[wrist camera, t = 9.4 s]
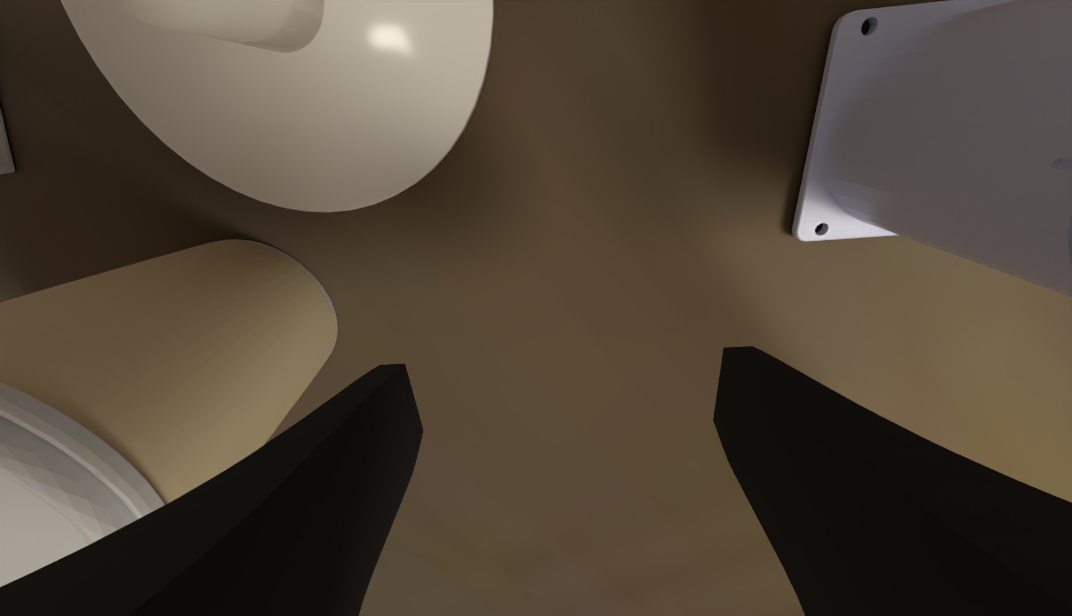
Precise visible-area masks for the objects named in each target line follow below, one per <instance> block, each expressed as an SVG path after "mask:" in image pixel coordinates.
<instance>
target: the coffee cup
mask: <svg viewBox="0 0 1072 616" xmlns="http://www.w3.org/2000/svg"><path fill="white" fill-rule="evenodd" d="M337 332H338V325H337V317H336V313H335V309H334V307H333V304H332V302H331V299H330V297H329V296H328V294H327V292H326V291H325V289H324V288H323V286H322V285H321V283H320V282H319V281H318V280H317V278H316V277H315V276H314V275H313V274H312V273H311V272H310V271H309V270H308V269H307V268H305V267H304V266H303V265H302V264H301V263H300V262H298V261H297V260H295V259H294V258H292V257H291V256H289V255H287V254H286V253H284V252H282V251H280V250H278V249H276V248H274V247H271V246H269V245H266V244H263V243H260V242H255V241H250V240H238V239H229V240H220V241H215V242H211V243H207V244H203V245H199V246H195V247H192V248H188V249H184V250H181V251H177V252H174V253H170V254H167V255H163V256H160V257H156V258H153V259H149V260H146V261H142V262H138V263H135V264H131V265H128V266H124V267H121V268H117V269H114V270H110V271H107V272H103V273H100V274H96V275H93V276H89V277H86V278H82V279H79V280H75V281H72V282H68V283H65V284H61V285H58V286H55V287H51V288H48V289H44V290H41V291H37V292H34V293H30V294H27V295H24V296H20V297H17V298H13V299H10V300H6V301H3V302H0V587H1V586H4V585H6V584H8V583H10V582H12V581H14V580H17V579H19V578H21V577H23V576H25V575H28V574H30V573H32V572H34V571H36V570H38V569H40V568H42V567H44V566H46V565H48V564H51V563H53V562H55V561H57V560H59V559H61V558H63V557H65V556H67V555H69V554H71V553H73V552H76V551H78V550H80V549H82V548H84V547H86V546H88V545H90V544H92V543H93V542H95V541H97V540H99V539H101V538H103V537H105V536H107V535H109V534H111V533H113V532H114V531H116V530H118V529H120V528H122V527H124V526H126V525H128V524H130V523H132V522H134V521H135V520H137V519H139V518H141V517H143V516H145V515H147V514H149V513H151V512H153V511H155V510H156V509H158V508H160V507H162V506H164V505H166V504H168V503H170V502H171V501H173V500H175V499H177V498H179V497H180V496H182V495H184V494H186V493H187V492H189V491H191V490H192V489H194V488H196V487H198V486H199V485H201V484H203V483H204V482H206V481H208V480H210V479H211V478H213V477H215V476H216V475H218V474H220V473H221V472H223V471H225V470H226V469H228V468H229V467H231V466H233V465H234V464H236V463H237V462H239V461H241V460H242V459H244V458H245V457H247V456H249V455H250V454H251V453H253V452H254V451H256V450H257V449H259V448H260V447H262V446H263V445H264V444H265V443H266V442H267V440H268V439H269V438H270V436H271V435H272V434H273V432H274V431H275V430H276V428H277V427H278V426H279V424H280V423H281V421H282V420H283V419H284V417H285V416H286V415H287V413H288V412H289V411H290V409H291V408H292V407H293V405H294V404H295V403H296V401H297V400H298V399H299V397H300V396H301V395H302V393H303V392H304V391H305V389H306V388H307V387H308V385H309V384H310V383H311V381H312V380H313V379H314V377H315V376H316V375H317V373H318V372H319V370H320V369H321V367H322V366H323V364H324V363H325V362H326V360H327V359H328V357H329V356H330V354H331V353H332V350H333V348H334V346H335V342H336V339H337Z"/></svg>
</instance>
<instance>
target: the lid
mask: <svg viewBox="0 0 1072 616" xmlns="http://www.w3.org/2000/svg"><path fill="white" fill-rule="evenodd" d="M61 3H62V5H63V7H64V8H65V10H66V12H67V14H68V16H69V18H70V20H71V22H72V24H73V26H74V28H75V30H76V32H77V34H78V36H79V38H80V39H81V41H82V42H83V44H84V46H85V47H86V49H87V50H88V52H89V54H90V55H91V57H92V59H93V60H94V62H95V63H96V65H97V67H98V68H99V69H100V71H101V72H102V73H103V75H104V76H105V78H106V79H107V80H108V82H109V83H110V84H111V86H112V87H113V88H114V90H115V91H116V92H117V94H118V95H119V96H120V97H121V99H122V100H123V101H124V102H125V103H126V104H127V105H128V107H129V108H130V109H131V110H132V111H133V112H134V113H135V115H136V116H137V117H138V118H139V119H140V120H141V121H142V122H143V123H144V124H145V125H146V126H147V127H148V128H149V129H150V130H151V131H152V132H153V133H154V134H155V135H156V136H157V137H158V138H159V139H160V140H161V141H162V142H163V143H165V144H166V145H167V146H168V147H169V148H171V149H172V150H173V151H174V152H176V153H177V154H178V155H179V156H181V157H182V158H183V159H184V160H186V161H187V162H188V163H190V164H191V165H193V166H194V167H196V168H197V169H199V170H200V171H202V172H203V173H205V174H206V175H208V176H209V177H211V178H212V179H214V180H216V181H218V182H220V183H222V184H223V185H225V186H227V187H229V188H231V189H233V190H235V191H237V192H239V193H242V194H244V195H246V196H249V197H251V198H254V199H256V200H259V201H262V202H265V203H269V204H272V205H276V206H279V207H283V208H288V209H294V210H300V211H307V212H338V211H348V210H354V209H358V208H362V207H366V206H370V205H374V204H376V203H379V202H381V201H384V200H386V199H389V198H391V197H393V196H395V195H397V194H399V193H401V192H403V191H404V190H406V189H407V188H409V187H411V186H412V185H414V184H416V183H417V182H419V181H420V180H421V179H423V178H424V177H425V176H426V175H427V174H429V173H430V172H431V171H432V170H433V169H435V168H436V167H437V166H438V165H439V163H440V162H441V161H442V160H443V159H444V158H445V157H446V156H447V154H448V153H449V152H450V151H451V150H452V148H453V147H454V145H455V144H456V142H457V141H458V139H459V138H460V136H461V135H462V133H463V132H464V130H465V129H466V127H467V125H468V122H469V120H470V118H471V116H472V114H473V112H474V110H475V108H476V106H477V103H478V100H479V97H480V94H481V91H482V88H483V85H484V82H485V79H486V75H487V70H488V65H489V60H490V55H491V50H492V41H493V30H494V19H495V7H494V0H61Z"/></svg>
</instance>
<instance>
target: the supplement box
mask: <svg viewBox="0 0 1072 616" xmlns="http://www.w3.org/2000/svg"><path fill="white" fill-rule="evenodd" d="M13 172H15V168H14V164H13V160H12V156H11V152H10V147H9V143H8V139H7V134H6V130H5V125H4V121H3V116H2V112H1V107H0V174H7V173H13Z"/></svg>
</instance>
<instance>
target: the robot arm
mask: <svg viewBox="0 0 1072 616" xmlns="http://www.w3.org/2000/svg"><path fill="white" fill-rule="evenodd" d="M865 20H868V22H869V23H870V28H869V30H868V32H867V33H866V34H865V35H863V34H862V32H861V26H862V24H863V22H864V21H865ZM821 223H823V227H822V229H821V230H820V231H819V232H816V233H815V229H816V227H817V226H818V225H819V224H821ZM792 234H793V236H794V237H795V238H797V239H799V240H801V241H821V240H835V239H850V238H865V237H880V236H895V235H901V236H904V237H907V238H909V239H912V240H915V241H918V242H921V243H923V244H926V245H929V246H932V247H934V248H937V249H940V250H943V251H946V252H948V253H951V254H954V255H957V256H960V257H962V258H965V259H968V260H971V261H974V262H976V263H979V264H982V265H985V266H988V267H990V268H993V269H996V270H999V271H1002V272H1004V273H1007V274H1010V275H1013V276H1016V277H1018V278H1021V279H1024V280H1027V281H1030V282H1032V283H1035V284H1038V285H1041V286H1044V287H1046V288H1049V289H1052V290H1055V291H1058V292H1060V293H1063V294H1066V295H1069V296H1072V0H949V1H939V2H930V3H921V4H911V5H902V6H892V7H883V8H873V9H864V10H856V11H853V12H850V13H847V14H844V15H843V16H842V17H840V18H839V19H838V21H837V22H836V23H835V25H834V27H833V30H832V34H831V39H830V44H829V49H828V54H827V59H826V64H825V69H824V74H823V79H822V84H821V89H820V93H819V98H818V103H817V108H816V113H815V118H814V123H813V128H812V133H811V138H810V143H809V148H808V153H807V158H806V163H805V168H804V173H803V177H802V182H801V187H800V192H799V197H798V202H797V207H796V212H795V217H794V222H793V227H792ZM713 421H714V424H715V426H716V429H717V432H718V435H719V438H720V441H721V443H722V446H723V449H724V451H725V454H726V456H727V459H728V462H729V464H730V466H731V468H732V470H733V472H734V474H735V476H736V478H737V479H738V481H739V483H740V485H741V487H742V489H743V491H744V493H745V495H746V497H747V499H748V501H749V503H750V505H751V506H752V508H753V510H754V512H755V514H756V516H757V518H758V520H759V522H760V524H761V525H762V527H763V529H764V531H765V533H766V535H767V537H768V539H769V541H770V543H771V544H772V546H773V548H774V550H775V552H776V554H777V556H778V558H779V560H780V562H781V564H782V565H783V567H784V569H785V572H786V574H787V576H788V578H789V580H790V582H791V584H792V586H793V588H794V590H795V592H796V595H797V597H798V599H799V602H800V604H801V606H802V609H803V611H804V614H805V616H1072V503H1071V502H1069V501H1066V500H1064V499H1061V498H1058V497H1056V496H1054V495H1051V494H1049V493H1046V492H1044V491H1042V490H1039V489H1037V488H1034V487H1032V486H1029V485H1027V484H1025V483H1022V482H1020V481H1017V480H1015V479H1013V478H1011V477H1008V476H1006V475H1004V474H1002V473H999V472H997V471H995V470H993V469H990V468H988V467H986V466H984V465H981V464H979V463H977V462H975V461H972V460H970V459H968V458H966V457H963V456H961V455H959V454H957V453H954V452H952V451H950V450H948V449H946V448H944V447H942V446H939V445H937V444H935V443H933V442H931V441H929V440H927V439H925V438H923V437H921V436H919V435H917V434H915V433H913V432H911V431H909V430H907V429H905V428H903V427H901V426H899V425H897V424H895V423H893V422H891V421H889V420H887V419H885V418H883V417H881V416H879V415H877V414H876V413H874V412H872V411H870V410H868V409H866V408H864V407H862V406H860V405H859V404H857V403H855V402H853V401H851V400H849V399H848V398H846V397H844V396H842V395H840V394H839V393H837V392H835V391H833V390H831V389H830V388H828V387H826V386H824V385H822V384H821V383H819V382H817V381H815V380H814V379H812V378H810V377H808V376H807V375H805V374H803V373H801V372H800V371H798V370H796V369H794V368H793V367H791V366H789V365H787V364H785V363H784V362H782V361H780V360H778V359H776V358H775V357H773V356H771V355H769V354H767V353H765V352H763V351H761V350H759V349H757V348H755V347H753V346H748V347H729V348H724V349H723V356H722V363H721V370H720V377H719V383H718V390H717V397H716V404H715V411H714V418H713ZM422 435H423V428H422V424H421V420H420V417H419V413H418V409H417V406H416V402H415V398H414V395H413V391H412V387H411V384H410V380H409V376H408V373H407V369H406V366H405V364H389V365H379V366H377V367H376V368H374V369H372V370H371V371H369V372H368V373H366V374H365V375H363V376H362V377H360V378H359V379H357V380H356V381H355V382H353V383H352V384H350V385H349V386H348V387H346V388H345V389H343V390H342V391H341V392H339V393H338V394H337V395H335V396H334V397H332V398H331V399H330V400H328V401H327V402H325V403H324V404H323V405H321V406H320V407H319V408H317V409H316V410H314V411H313V412H312V413H310V414H309V415H307V416H306V417H305V418H303V419H302V420H300V421H299V422H298V423H296V424H295V425H293V426H292V427H290V428H289V429H287V430H286V431H284V432H283V433H281V434H280V435H278V436H277V437H275V438H274V439H272V440H271V441H269V442H268V443H266V444H265V445H263V446H262V447H260V448H259V449H257V450H256V451H254V452H253V453H251V454H250V455H249V456H247V457H245V458H244V459H242V460H241V461H239V462H237V463H236V464H234V465H233V466H231V467H229V468H228V469H226V470H225V471H223V472H221V473H220V474H218V475H216V476H215V477H213V478H211V479H210V480H208V481H206V482H204V483H203V484H201V485H199V486H198V487H196V488H194V489H192V490H191V491H189V492H187V493H186V494H184V495H182V496H180V497H179V498H177V499H175V500H173V501H171V502H170V503H168V504H166V505H164V506H162V507H160V508H158V509H156V510H155V511H153V512H151V513H149V514H147V515H145V516H143V517H141V518H139V519H137V520H135V521H134V522H132V523H130V524H128V525H126V526H124V527H122V528H120V529H118V530H116V531H114V532H113V533H111V534H109V535H107V536H105V537H103V538H101V539H99V540H97V541H95V542H93V543H92V544H90V545H88V546H86V547H84V548H82V549H80V550H78V551H76V552H73V553H71V554H69V555H67V556H65V557H63V558H61V559H59V560H57V561H55V562H53V563H51V564H48V565H46V566H44V567H42V568H40V569H38V570H36V571H34V572H32V573H30V574H28V575H25V576H23V577H21V578H19V579H17V580H14V581H12V582H10V583H8V584H6V585H4V586H1V587H0V616H359V612H360V609H361V606H362V602H363V599H364V596H365V593H366V591H367V588H368V585H369V582H370V579H371V577H372V574H373V571H374V569H375V566H376V564H377V561H378V559H379V556H380V554H381V551H382V549H383V546H384V544H385V541H386V539H387V536H388V534H389V531H390V529H391V526H392V524H393V521H394V519H395V516H396V514H397V511H398V509H399V507H400V504H401V501H402V499H403V496H404V494H405V491H406V489H407V486H408V484H409V481H410V478H411V476H412V473H413V470H414V466H415V463H416V459H417V455H418V451H419V447H420V443H421V439H422Z"/></svg>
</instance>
